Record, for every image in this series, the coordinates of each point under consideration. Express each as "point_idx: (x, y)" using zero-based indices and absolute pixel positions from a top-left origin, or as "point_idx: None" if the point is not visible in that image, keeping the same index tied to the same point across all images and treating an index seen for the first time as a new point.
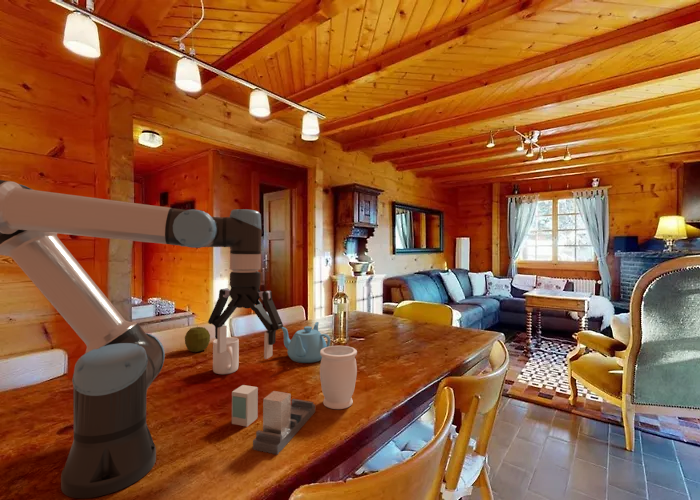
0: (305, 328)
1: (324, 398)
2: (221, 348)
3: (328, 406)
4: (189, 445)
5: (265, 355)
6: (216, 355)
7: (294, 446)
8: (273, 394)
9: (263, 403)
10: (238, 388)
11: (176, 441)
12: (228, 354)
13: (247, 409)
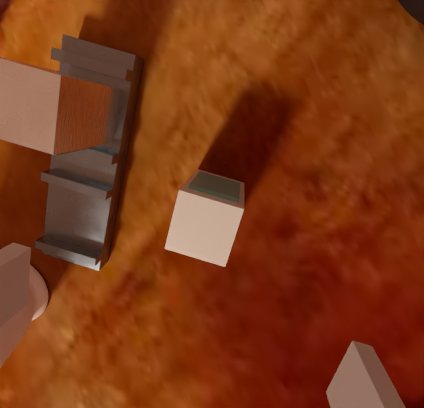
0: None
1: (41, 297)
2: (354, 377)
3: None
4: (319, 66)
5: (6, 255)
6: None
7: None
8: (40, 122)
9: (70, 77)
10: (229, 236)
11: (364, 83)
12: None
13: (189, 178)
